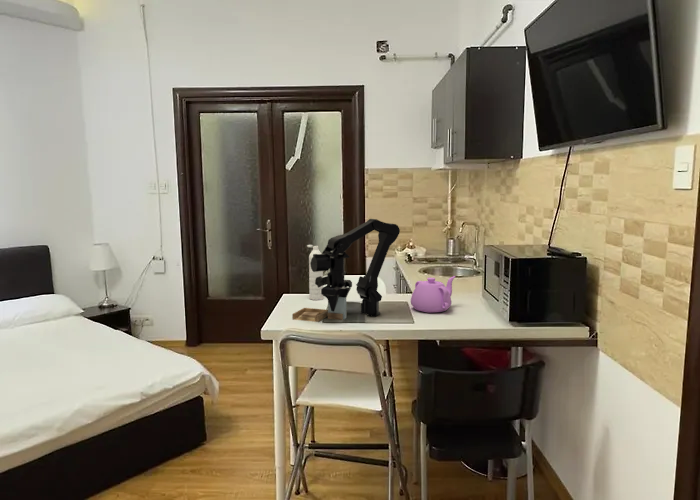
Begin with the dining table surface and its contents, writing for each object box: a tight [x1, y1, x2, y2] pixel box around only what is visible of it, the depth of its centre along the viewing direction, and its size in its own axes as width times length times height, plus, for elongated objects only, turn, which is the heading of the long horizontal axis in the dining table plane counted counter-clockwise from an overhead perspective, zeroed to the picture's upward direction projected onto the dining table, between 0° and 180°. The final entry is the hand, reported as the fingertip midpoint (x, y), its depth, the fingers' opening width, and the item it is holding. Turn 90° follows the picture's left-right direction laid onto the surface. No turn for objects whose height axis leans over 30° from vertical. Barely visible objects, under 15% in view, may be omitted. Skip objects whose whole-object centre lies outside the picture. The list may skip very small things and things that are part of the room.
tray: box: [292, 307, 328, 323], centre depth 208 cm, size 11×11×3 cm
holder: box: [327, 310, 348, 321], centre depth 207 cm, size 6×5×3 cm
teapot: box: [410, 275, 456, 314], centre depth 224 cm, size 22×22×14 cm
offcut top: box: [301, 312, 319, 318], centre depth 206 cm, size 6×4×1 cm
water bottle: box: [306, 244, 324, 301], centre depth 244 cm, size 9×6×25 cm
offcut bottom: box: [299, 316, 316, 320], centre depth 206 cm, size 7×5×1 cm
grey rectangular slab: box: [327, 297, 347, 320], centre depth 207 cm, size 7×2×9 cm, turn 71°
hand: (337, 308), depth 207 cm, fingers open, 9 cm apart
